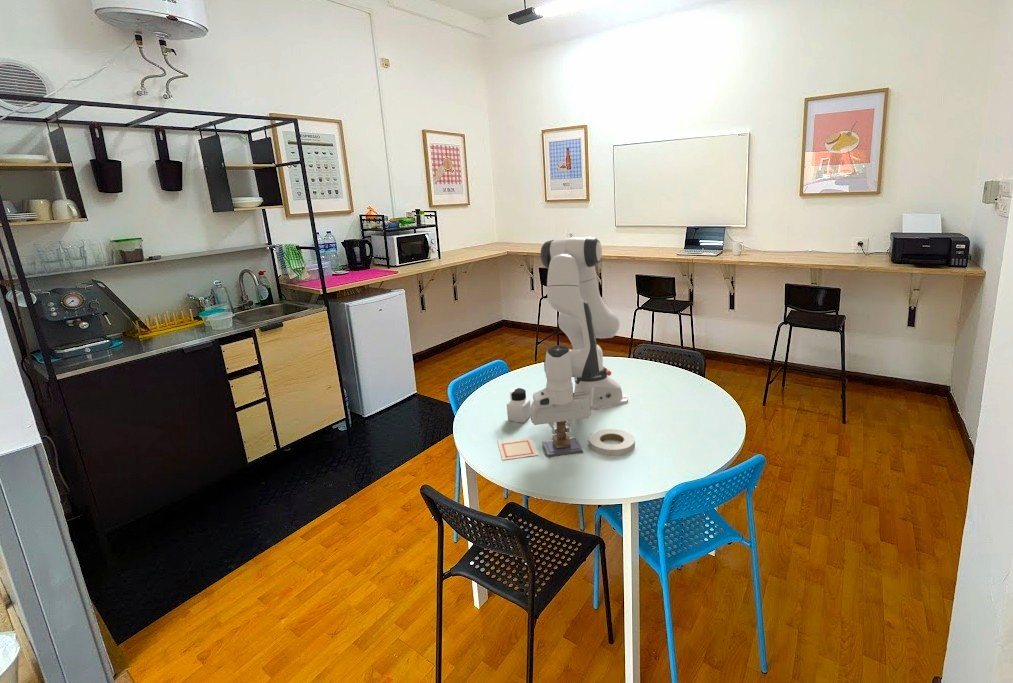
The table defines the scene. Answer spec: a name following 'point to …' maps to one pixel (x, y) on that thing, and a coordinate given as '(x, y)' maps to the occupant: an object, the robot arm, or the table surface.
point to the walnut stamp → (561, 437)
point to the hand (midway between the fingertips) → (561, 432)
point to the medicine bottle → (518, 406)
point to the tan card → (517, 449)
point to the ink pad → (553, 452)
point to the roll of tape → (615, 449)
